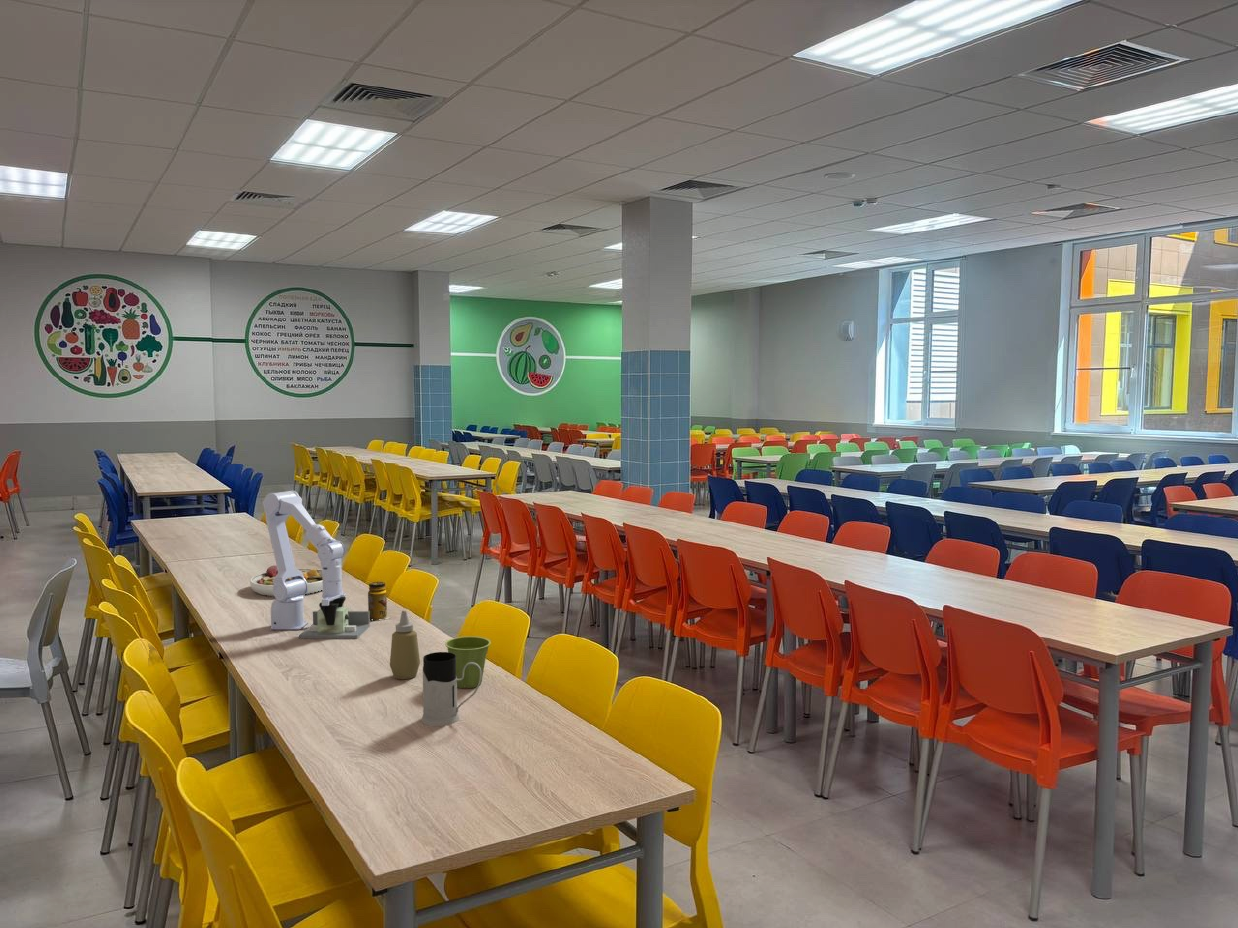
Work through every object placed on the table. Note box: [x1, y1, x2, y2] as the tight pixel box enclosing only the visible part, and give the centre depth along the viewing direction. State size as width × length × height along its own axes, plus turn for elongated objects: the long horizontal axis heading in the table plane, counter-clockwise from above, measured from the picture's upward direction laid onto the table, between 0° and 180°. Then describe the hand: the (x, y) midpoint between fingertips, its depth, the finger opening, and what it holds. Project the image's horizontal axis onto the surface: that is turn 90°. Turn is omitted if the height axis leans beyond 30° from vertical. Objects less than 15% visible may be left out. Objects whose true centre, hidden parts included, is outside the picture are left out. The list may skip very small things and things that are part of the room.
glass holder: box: [420, 651, 482, 727], centre depth 202 cm, size 9×14×15 cm, turn 88°
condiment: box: [367, 581, 391, 622], centre depth 290 cm, size 7×8×12 cm
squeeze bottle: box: [389, 609, 421, 680], centre depth 232 cm, size 8×8×18 cm
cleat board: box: [298, 610, 371, 640], centre depth 274 cm, size 18×14×5 cm
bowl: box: [249, 565, 323, 597], centre depth 332 cm, size 30×30×8 cm
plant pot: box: [444, 635, 492, 689], centre depth 226 cm, size 12×12×11 cm
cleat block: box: [316, 606, 349, 633], centre depth 271 cm, size 9×5×7 cm, turn 91°
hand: (333, 622), depth 271 cm, fingers closed on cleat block, 5 cm apart
